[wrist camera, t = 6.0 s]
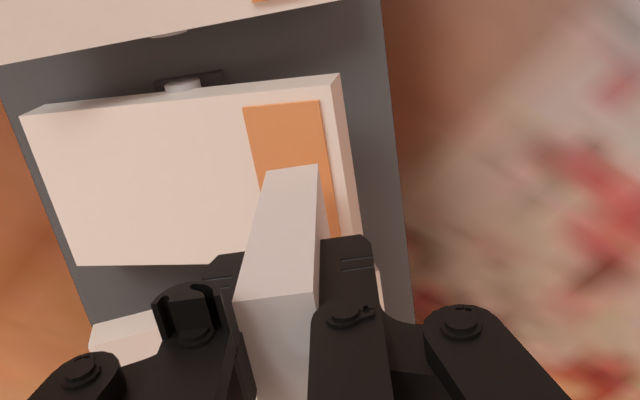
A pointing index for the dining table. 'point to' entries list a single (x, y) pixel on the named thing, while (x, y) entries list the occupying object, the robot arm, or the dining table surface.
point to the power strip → (224, 69)
